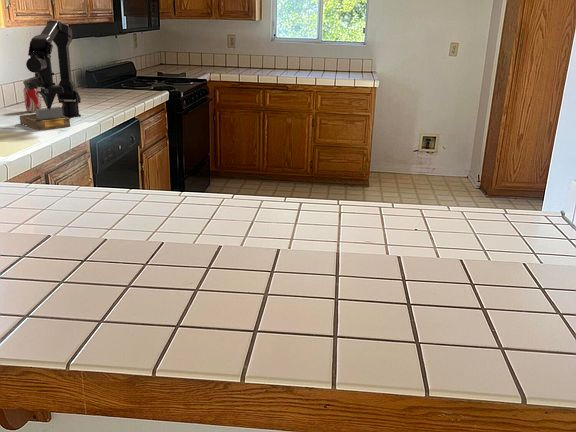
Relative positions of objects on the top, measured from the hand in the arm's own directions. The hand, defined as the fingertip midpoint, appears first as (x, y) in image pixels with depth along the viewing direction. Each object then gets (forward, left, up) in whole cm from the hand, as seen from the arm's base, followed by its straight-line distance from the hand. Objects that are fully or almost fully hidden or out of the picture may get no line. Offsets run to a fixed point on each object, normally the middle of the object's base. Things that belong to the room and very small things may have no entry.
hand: (48, 108), depth 235 cm
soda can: (-10, -41, -8) cm, 43 cm away
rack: (0, -6, -8) cm, 10 cm away
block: (0, 0, -7) cm, 7 cm away
